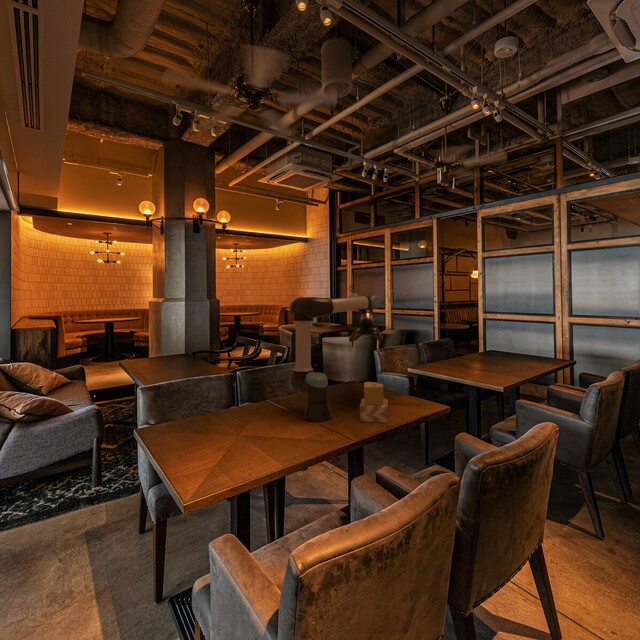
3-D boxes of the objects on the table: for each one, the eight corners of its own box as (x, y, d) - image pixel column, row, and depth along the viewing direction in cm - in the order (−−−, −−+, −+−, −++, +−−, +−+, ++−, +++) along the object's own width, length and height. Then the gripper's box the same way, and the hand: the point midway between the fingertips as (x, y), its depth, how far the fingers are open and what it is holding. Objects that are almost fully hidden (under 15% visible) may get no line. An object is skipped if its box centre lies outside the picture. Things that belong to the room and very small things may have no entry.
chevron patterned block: (360, 421, 192) (359, 406, 191) (362, 412, 206) (361, 398, 205) (387, 422, 189) (387, 406, 189) (388, 413, 203) (387, 399, 203)
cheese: (383, 400, 201) (383, 381, 200) (384, 406, 190) (383, 386, 190) (364, 400, 202) (363, 381, 202) (363, 405, 192) (362, 386, 191)
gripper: (387, 325, 231) (387, 353, 217) (347, 326, 235) (345, 354, 222) (387, 317, 225) (387, 346, 211) (345, 318, 230) (343, 346, 216)
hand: (365, 350), depth 216 cm, fingers open, 13 cm apart
